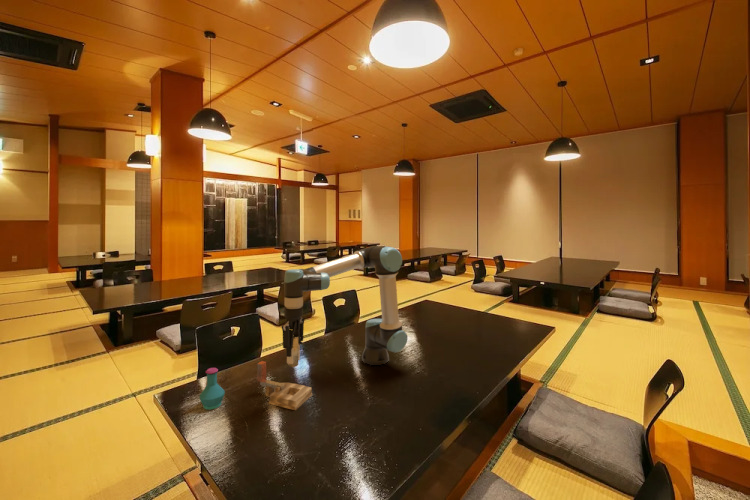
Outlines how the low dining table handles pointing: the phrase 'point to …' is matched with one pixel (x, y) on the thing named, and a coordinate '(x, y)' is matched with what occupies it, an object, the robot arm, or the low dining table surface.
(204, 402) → the perfume bottle
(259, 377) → the pin
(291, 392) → the dock
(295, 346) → the tan rounded cylinder
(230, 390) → the low dining table surface
